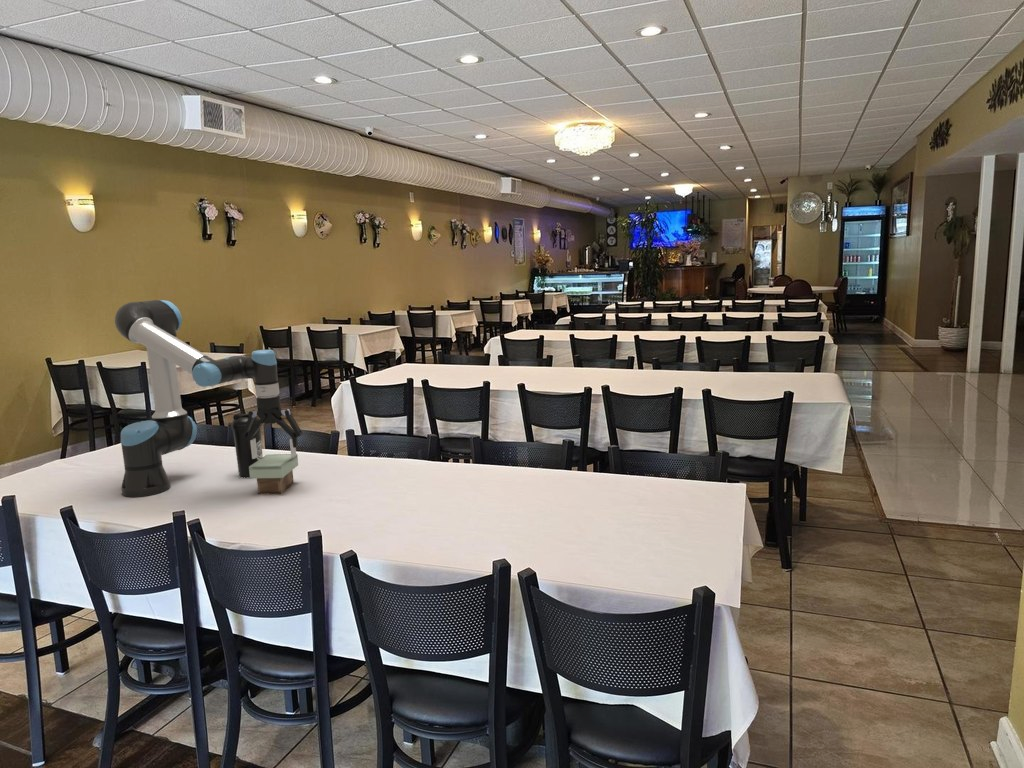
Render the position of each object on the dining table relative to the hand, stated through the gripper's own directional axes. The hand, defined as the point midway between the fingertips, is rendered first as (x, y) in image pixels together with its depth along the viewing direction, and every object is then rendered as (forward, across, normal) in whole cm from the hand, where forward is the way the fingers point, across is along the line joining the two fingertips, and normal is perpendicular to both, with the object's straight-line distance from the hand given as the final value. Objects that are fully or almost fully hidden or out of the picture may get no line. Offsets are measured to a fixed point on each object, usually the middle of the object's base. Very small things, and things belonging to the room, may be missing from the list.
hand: (274, 457), depth 242 cm
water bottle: (+11, -16, +17) cm, 26 cm away
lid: (+5, 0, 0) cm, 5 cm away
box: (+11, 0, 0) cm, 11 cm away
